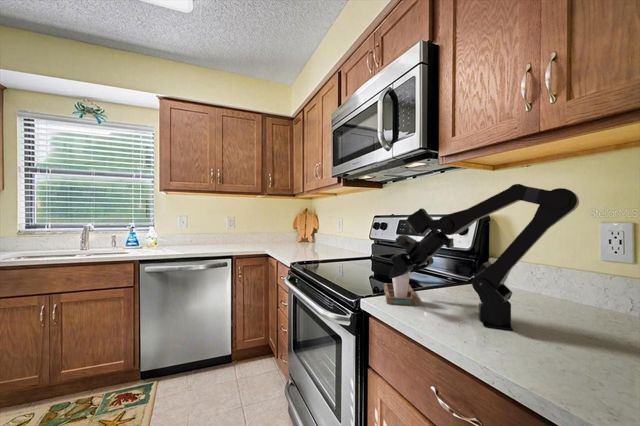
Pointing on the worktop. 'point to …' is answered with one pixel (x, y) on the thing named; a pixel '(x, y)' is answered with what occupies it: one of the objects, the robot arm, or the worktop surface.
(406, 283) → the smoothie
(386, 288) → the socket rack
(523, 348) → the worktop surface
